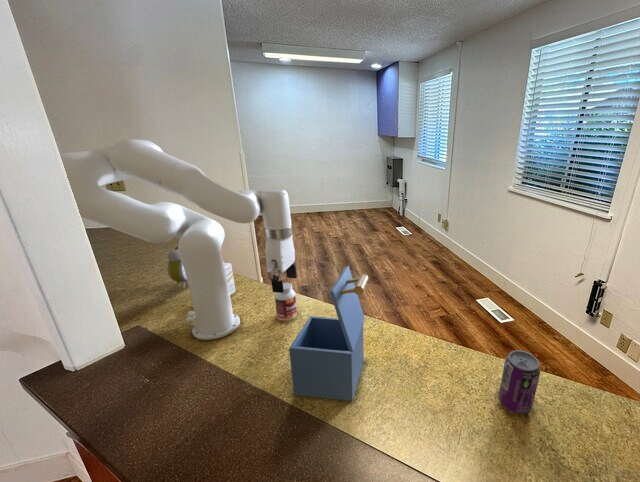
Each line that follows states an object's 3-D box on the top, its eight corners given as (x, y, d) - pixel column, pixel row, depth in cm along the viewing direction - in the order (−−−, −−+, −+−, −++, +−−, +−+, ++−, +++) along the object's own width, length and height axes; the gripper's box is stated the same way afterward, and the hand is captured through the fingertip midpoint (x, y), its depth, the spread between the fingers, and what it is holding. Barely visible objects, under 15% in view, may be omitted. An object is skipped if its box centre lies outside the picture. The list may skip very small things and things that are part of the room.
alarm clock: (185, 290, 113) (176, 253, 108) (167, 290, 113) (157, 252, 108) (204, 277, 124) (197, 242, 119) (187, 276, 124) (179, 242, 119)
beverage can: (528, 422, 64) (539, 376, 60) (494, 406, 67) (502, 362, 63) (533, 399, 69) (544, 356, 65) (502, 386, 73) (509, 344, 69)
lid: (329, 291, 59) (356, 287, 58) (345, 266, 71) (368, 262, 70) (349, 352, 63) (375, 349, 62) (361, 318, 75) (383, 315, 74)
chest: (293, 394, 69) (288, 348, 65) (313, 357, 81) (310, 315, 76) (352, 401, 68) (351, 354, 63) (363, 362, 79) (363, 320, 75)
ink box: (219, 303, 105) (214, 272, 101) (198, 300, 107) (192, 269, 103) (236, 291, 113) (231, 262, 109) (216, 289, 115) (211, 260, 111)
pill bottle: (289, 323, 95) (286, 291, 91) (272, 319, 97) (269, 288, 93) (300, 313, 101) (298, 283, 97) (284, 309, 102) (281, 280, 99)
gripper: (280, 224, 98) (286, 272, 104) (250, 241, 82) (259, 297, 87) (302, 224, 97) (307, 273, 103) (277, 242, 81) (284, 299, 87)
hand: (285, 284), depth 95 cm, fingers open, 9 cm apart
